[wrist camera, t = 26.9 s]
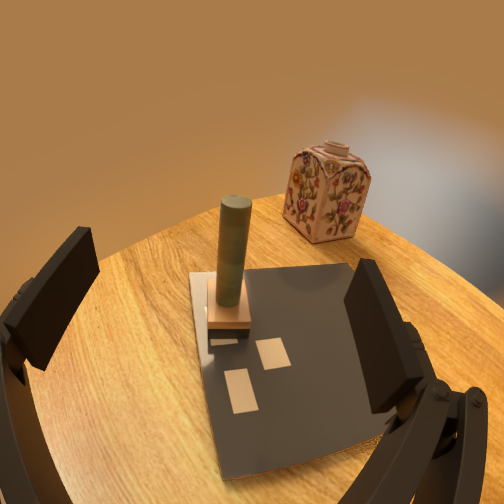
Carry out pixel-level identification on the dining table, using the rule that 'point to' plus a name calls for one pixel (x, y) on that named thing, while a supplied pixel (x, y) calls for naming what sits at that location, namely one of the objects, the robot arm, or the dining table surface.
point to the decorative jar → (326, 192)
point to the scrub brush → (230, 273)
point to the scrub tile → (285, 373)
